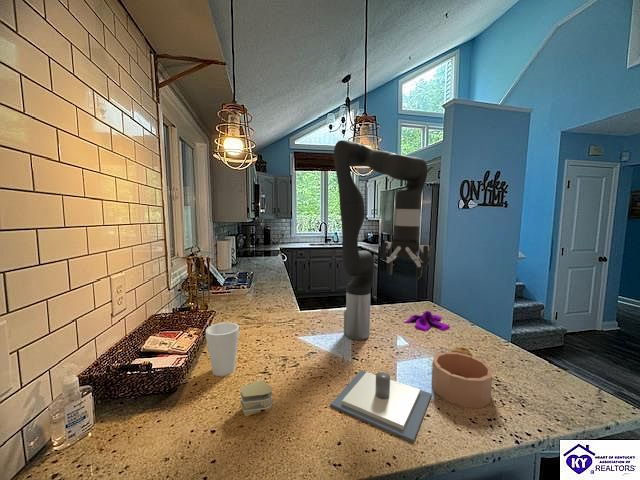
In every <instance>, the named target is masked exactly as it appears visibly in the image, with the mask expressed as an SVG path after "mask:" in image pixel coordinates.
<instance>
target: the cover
mask: <svg viewBox="0 0 640 480" xmlns="http://www.w3.org/2000/svg"><path fill="white" fill-rule="evenodd" d="M365 372H366V373H365V374H364V376H363V377H362V378H361V379H360V380H359V381H358V383H357V384H356V385H355V386H354V387H353V388H352V390H351V391H350V392H349V393H348V394H347V395H346V397H345V398H344V399H343V400H342V404H343V405H345V406H347V407H350V408H352V409H355V410H357V411H359V412H362V413H364V414H366V415H369V416H371V417H373V418H376V419H378V420H381V421H383V422H385V423H388V424H390V425H392V426H395V427H397V428H400V429H402V430H404V428H405V425H406V423H407V421H408V419H409V417H410V414H411V412H412V410H413V408H414V406H415V403H416V401H417V399H418V397H419V395H420V390H421V389H420V388H417V387H414V386H411V385H408V384H405V383H401V382H398V381H396V380H392V379H391V376H390V374H389V373H387V372H384V371H383V372H382V371H380V372H377V373H376V374H374V373H372V372H368V371H365Z"/></svg>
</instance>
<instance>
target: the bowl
mask: <svg viewBox="0 0 640 480" xmlns="http://www.w3.org/2000/svg"><path fill="white" fill-rule="evenodd" d="M431 364H432V368H431V369H432V370H431V386H432V388H433V390H434V391H435V393H436V394H437V395H438V396H440V397H442V398H443V399H444V400H445V401H446V402H449V403H452V404H454V405H458V406H460V407H464V408H473V409H474V408H475V409H477V408H479V409H482V408H483V407H486V406H487V405H490V404H491V402H492V401H491V399H492V386H493V385H492V384H493V369H492V367H490V366H489V364H488V363H486V362H485V361H483V360H481V359H479V358H477V357H475V356H473V355H472V356H470V355H466V354H462V353H457V352H451V351H443V352H441V353H437V354H434V357H433V359H432V363H431Z"/></svg>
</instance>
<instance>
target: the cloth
mask: <svg viewBox="0 0 640 480" xmlns="http://www.w3.org/2000/svg"><path fill="white" fill-rule="evenodd" d="M441 320H443V317H442V316H440V315H437V314H436V315H435V314H432V312H431V311H428V310H425V311H424V312H423V313H422V314H421V315H419V314H412V315H411V316H410V317H409V318H408V319H407V320H406V321H404V323H406V324H411V323H413V322H415V325H414V329H417V330H420V331H423V332H428V330H430V329H431V326H432V327H435V328H437V329H438V330H439V331H442V332H443V331H446V330H448V329H450V328H451V326H450V325H448V324H446V323H443V322H441Z"/></svg>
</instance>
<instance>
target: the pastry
mask: <svg viewBox="0 0 640 480" xmlns="http://www.w3.org/2000/svg"><path fill="white" fill-rule="evenodd" d="M450 352H457V353H462V354H466V355H470V356H473V355H472V353H471V352H470V350H469V349H468V348H465V347H463V346H461V347H459V346H457V347H455V348H454V349H452V350H450Z"/></svg>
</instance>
